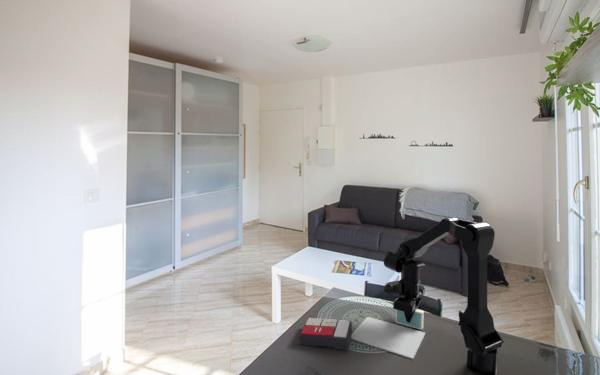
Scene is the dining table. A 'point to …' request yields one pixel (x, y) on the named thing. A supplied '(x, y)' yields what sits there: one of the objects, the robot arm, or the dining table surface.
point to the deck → (415, 321)
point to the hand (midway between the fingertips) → (409, 320)
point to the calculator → (326, 333)
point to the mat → (389, 337)
